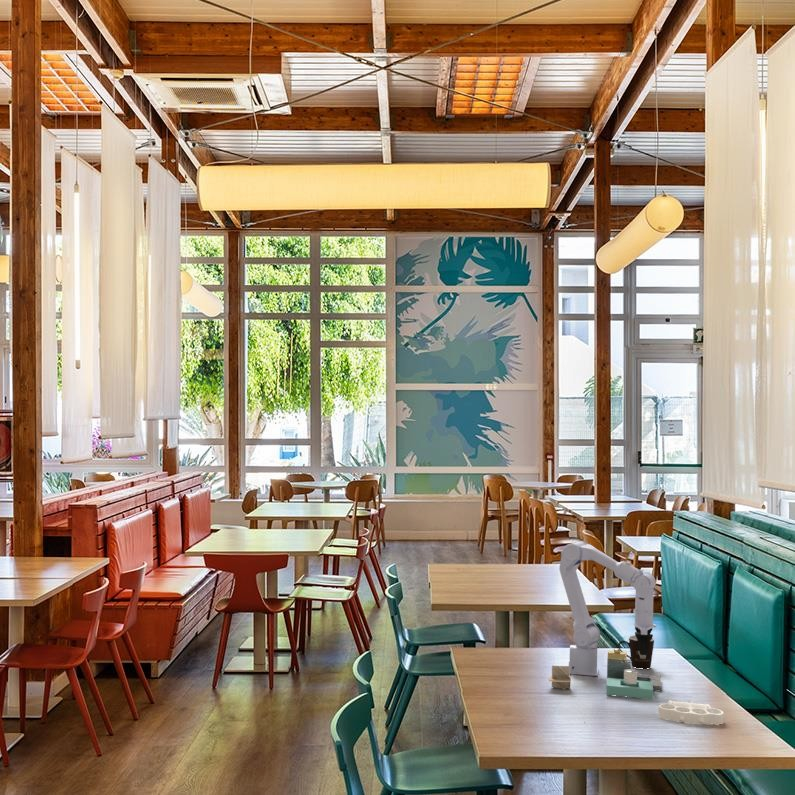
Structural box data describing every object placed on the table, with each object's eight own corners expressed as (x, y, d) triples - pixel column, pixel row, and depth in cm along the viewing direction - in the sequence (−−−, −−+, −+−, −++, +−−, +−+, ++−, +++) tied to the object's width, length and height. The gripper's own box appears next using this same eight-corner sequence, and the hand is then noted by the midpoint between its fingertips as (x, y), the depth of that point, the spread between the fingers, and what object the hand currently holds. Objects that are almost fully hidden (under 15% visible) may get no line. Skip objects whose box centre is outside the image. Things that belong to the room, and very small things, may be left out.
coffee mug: (656, 666, 314) (657, 637, 314) (649, 671, 306) (650, 642, 307) (624, 660, 320) (624, 632, 320) (616, 666, 313) (617, 637, 313)
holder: (606, 695, 279) (606, 685, 279) (606, 687, 287) (607, 677, 288) (653, 699, 275) (653, 689, 275) (651, 691, 284) (652, 681, 284)
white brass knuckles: (720, 714, 264) (725, 730, 250) (657, 707, 269) (659, 723, 255) (720, 702, 265) (726, 718, 250) (657, 696, 269) (659, 711, 255)
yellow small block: (607, 658, 293) (607, 649, 293) (607, 656, 296) (607, 647, 296) (626, 660, 292) (626, 651, 292) (626, 658, 294) (626, 649, 294)
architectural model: (571, 692, 282) (571, 669, 282) (549, 692, 282) (549, 668, 282) (569, 689, 285) (569, 666, 286) (547, 688, 286) (548, 665, 286)
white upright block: (623, 694, 280) (624, 672, 280) (623, 691, 284) (623, 668, 284) (636, 695, 279) (637, 673, 279) (636, 692, 283) (636, 669, 283)
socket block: (606, 686, 288) (607, 663, 289) (607, 676, 300) (607, 654, 300) (661, 691, 284) (661, 668, 285) (659, 680, 296) (660, 658, 296)
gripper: (657, 615, 285) (656, 658, 285) (656, 607, 300) (655, 647, 299) (634, 614, 287) (633, 656, 287) (634, 605, 301) (633, 645, 301)
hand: (643, 652), depth 293 cm, fingers open, 7 cm apart
